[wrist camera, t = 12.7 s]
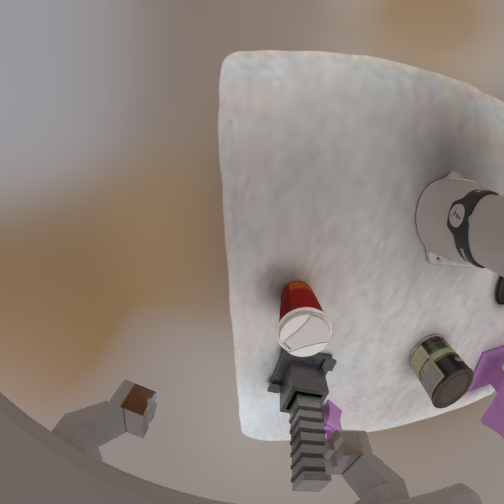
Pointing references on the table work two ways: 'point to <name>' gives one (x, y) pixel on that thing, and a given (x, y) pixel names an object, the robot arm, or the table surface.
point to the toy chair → (332, 420)
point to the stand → (300, 377)
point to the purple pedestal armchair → (489, 372)
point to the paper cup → (302, 321)
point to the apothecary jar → (500, 290)
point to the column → (307, 444)
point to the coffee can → (440, 370)
